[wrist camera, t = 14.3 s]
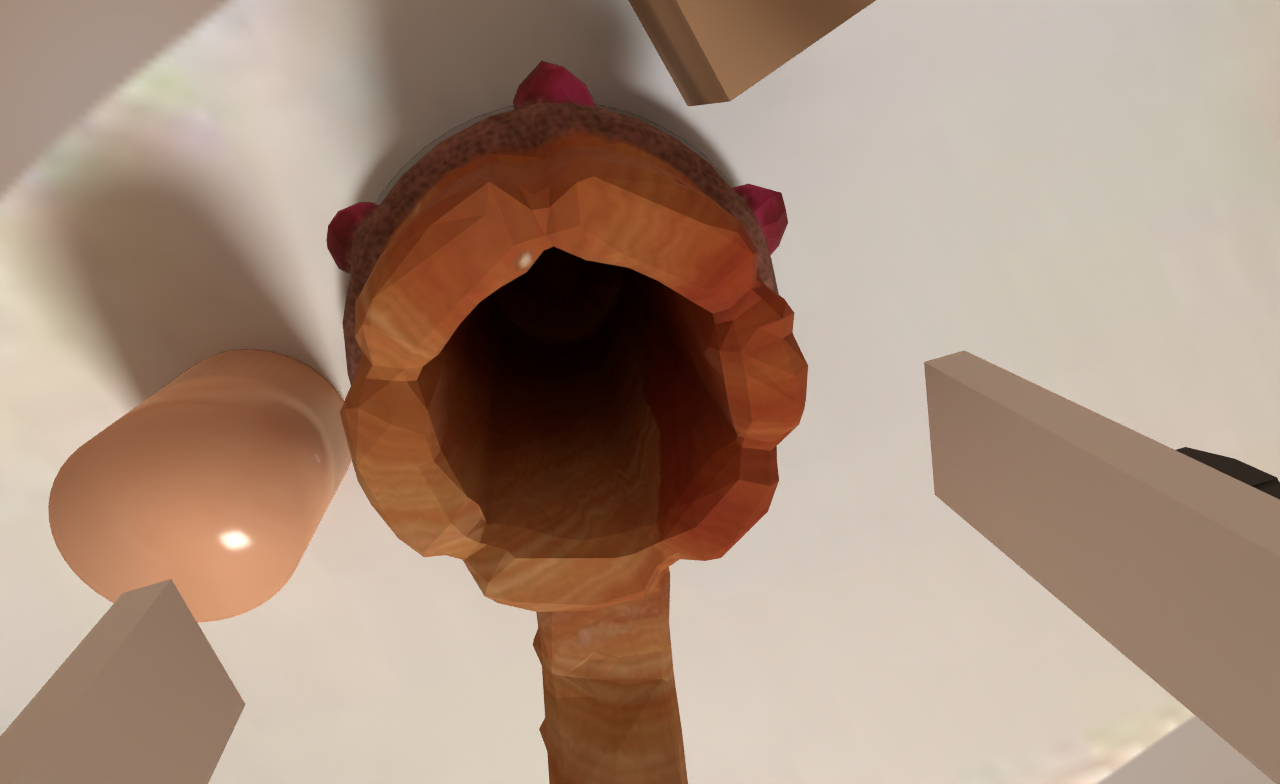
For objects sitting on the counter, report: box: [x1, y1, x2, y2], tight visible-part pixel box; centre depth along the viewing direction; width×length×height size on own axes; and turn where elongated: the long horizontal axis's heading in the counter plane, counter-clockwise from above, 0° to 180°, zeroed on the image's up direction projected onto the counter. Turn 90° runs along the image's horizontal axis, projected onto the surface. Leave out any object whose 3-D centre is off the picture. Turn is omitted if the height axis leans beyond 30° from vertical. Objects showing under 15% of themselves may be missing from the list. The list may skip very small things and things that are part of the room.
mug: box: [327, 61, 808, 784], centre depth 16 cm, size 15×8×15 cm, turn 1°
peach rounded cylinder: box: [49, 350, 352, 622], centre depth 21 cm, size 6×6×6 cm
